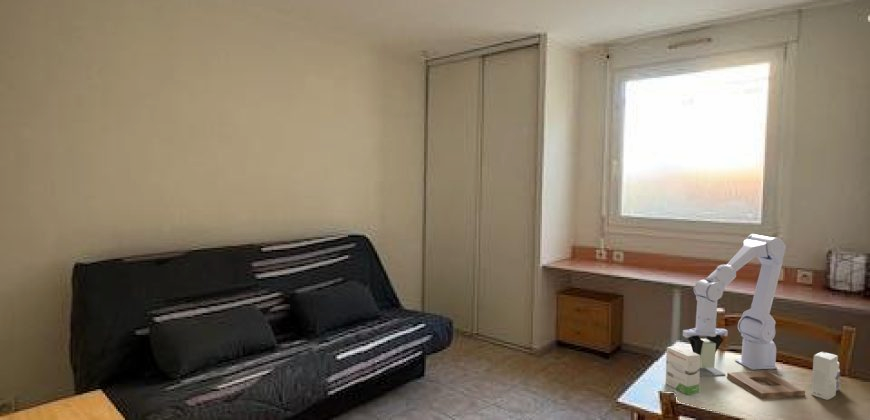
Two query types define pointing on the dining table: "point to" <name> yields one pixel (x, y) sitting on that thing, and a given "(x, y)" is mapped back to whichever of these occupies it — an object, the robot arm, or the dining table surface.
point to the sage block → (707, 354)
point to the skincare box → (824, 375)
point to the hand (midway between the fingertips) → (703, 357)
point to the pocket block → (777, 390)
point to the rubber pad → (710, 372)
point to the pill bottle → (838, 377)
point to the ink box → (682, 369)
